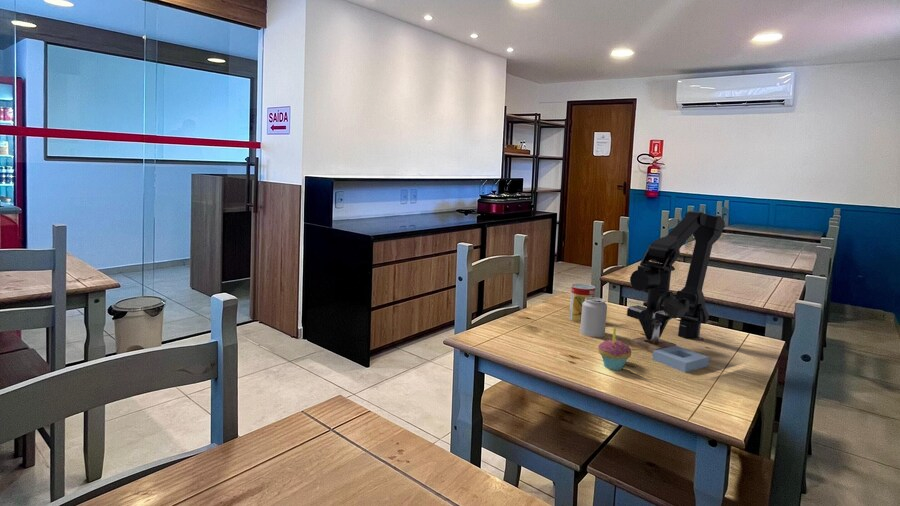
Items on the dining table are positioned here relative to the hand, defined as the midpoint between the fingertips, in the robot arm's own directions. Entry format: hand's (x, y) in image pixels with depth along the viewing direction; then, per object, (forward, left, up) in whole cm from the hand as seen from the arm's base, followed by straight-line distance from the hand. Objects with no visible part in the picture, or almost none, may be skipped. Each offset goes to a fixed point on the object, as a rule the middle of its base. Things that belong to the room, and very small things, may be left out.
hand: (653, 338), depth 156 cm
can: (+7, -17, -4) cm, 19 cm away
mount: (0, 0, -4) cm, 4 cm away
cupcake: (+21, +4, -4) cm, 22 cm away
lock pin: (0, 0, -2) cm, 2 cm away
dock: (+4, +12, -4) cm, 13 cm away
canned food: (-3, -32, -4) cm, 32 cm away
